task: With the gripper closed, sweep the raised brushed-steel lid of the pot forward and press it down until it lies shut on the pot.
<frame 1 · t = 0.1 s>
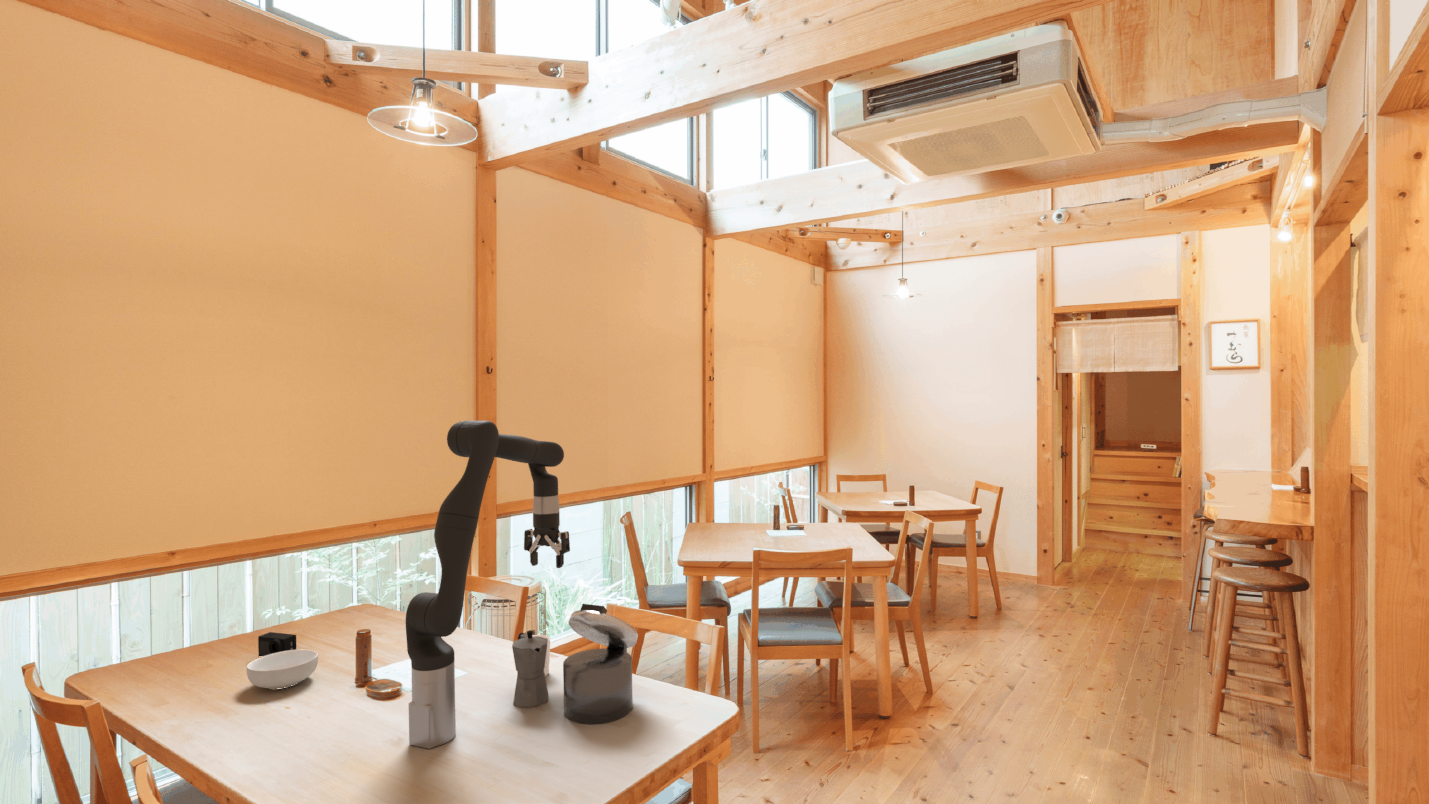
hand: (547, 566, 201), 29 cm above the table, tool pointing down, fingers open, 8 cm apart
cereal bowl: (283, 685, 191), on the table
white cup: (536, 675, 195), on the table
coffeepot: (529, 699, 179), on the table
pot: (598, 708, 173), on the table
lid: (605, 627, 176), point 19 cm above the table, hinge at 42.7°, touching pot
digital camera: (275, 659, 211), on the table
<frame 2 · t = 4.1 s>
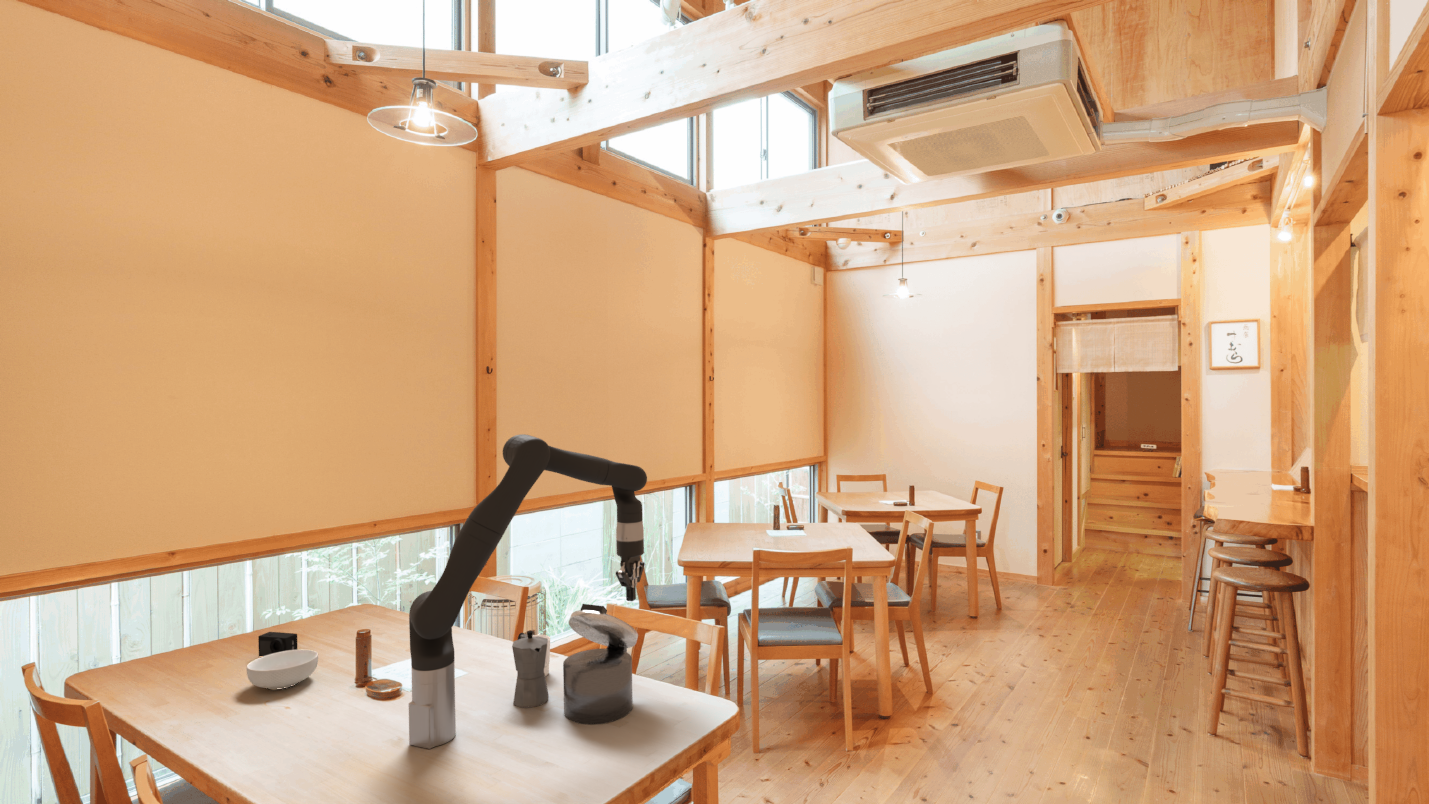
hand: (631, 600, 189), 22 cm above the table, tool pointing down, fingers closed
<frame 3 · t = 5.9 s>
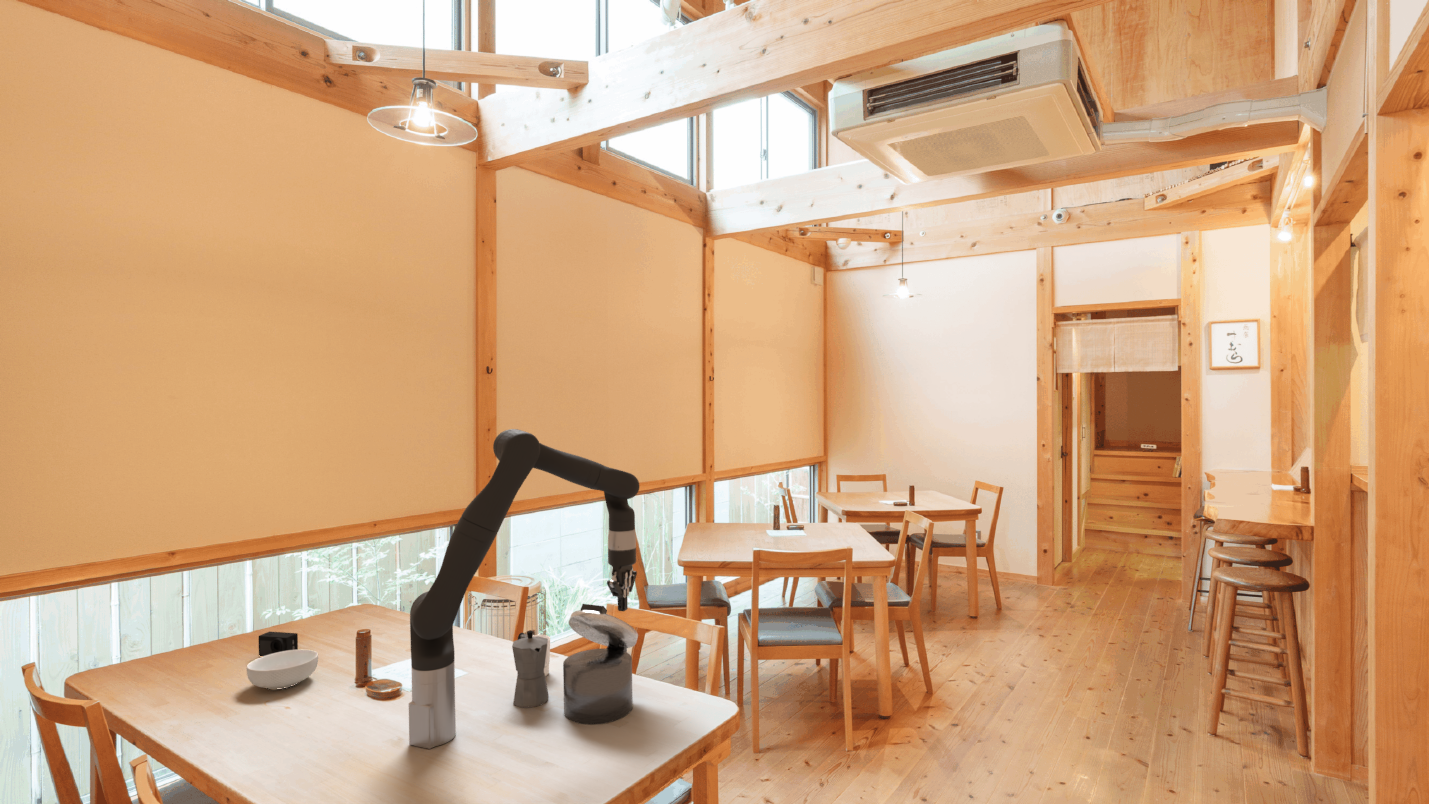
hand: (622, 610, 185), 21 cm above the table, tool pointing down, fingers closed
nothing on the table moved.
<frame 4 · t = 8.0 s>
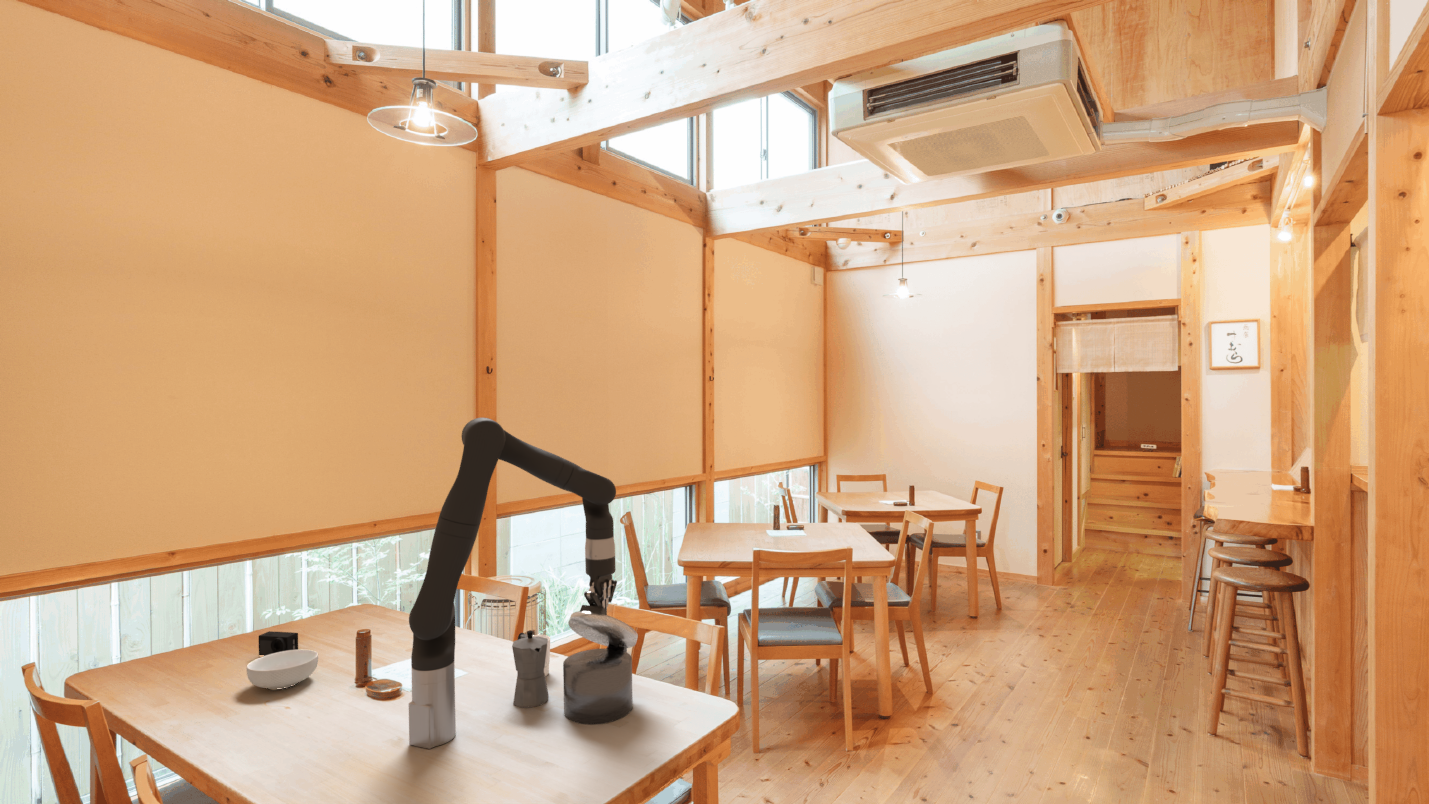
hand: (601, 622, 175), 21 cm above the table, tool pointing down, fingers closed
lid: (604, 627, 176), point 19 cm above the table, hinge at 41.8°, touching gripper, pot
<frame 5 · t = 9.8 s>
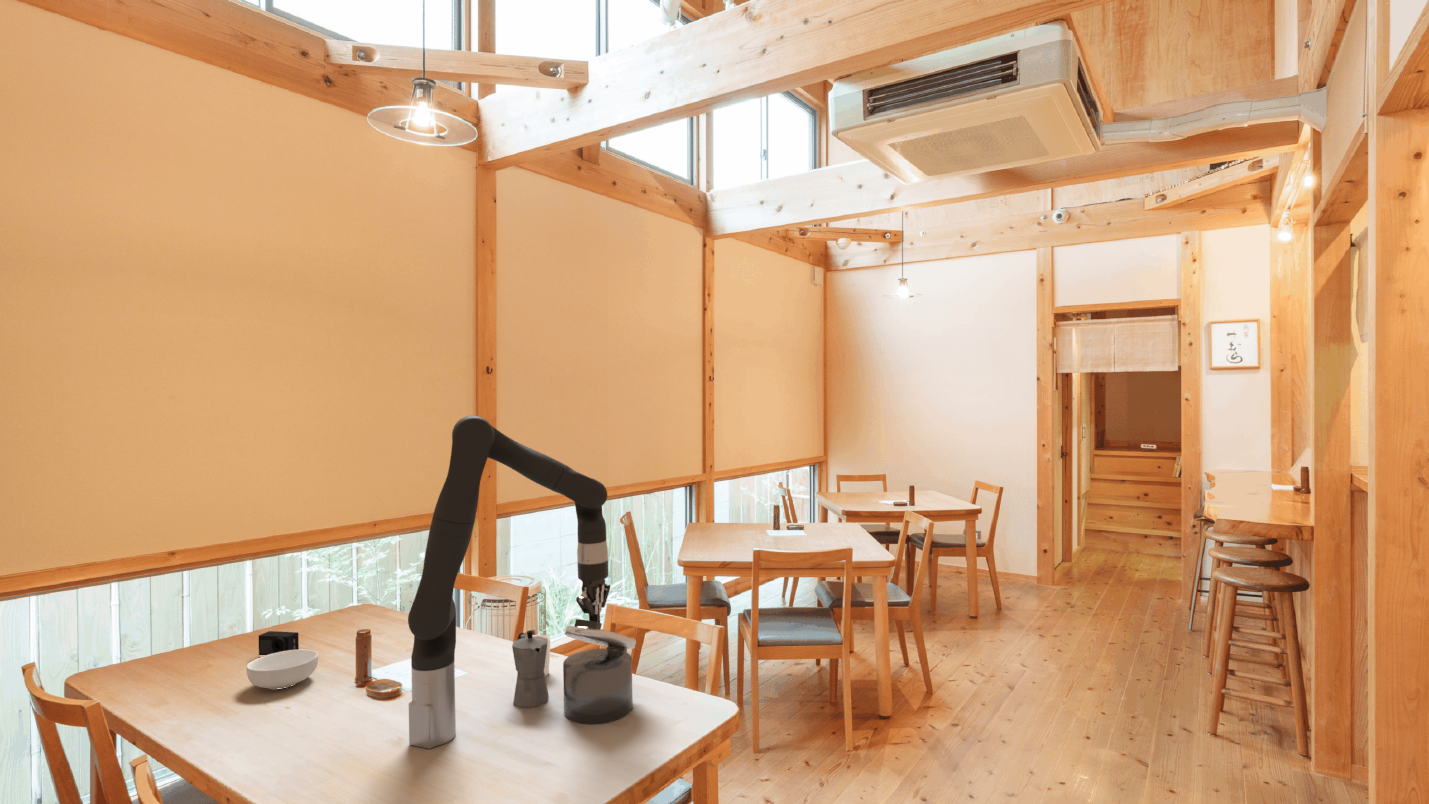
hand: (594, 627, 172), 21 cm above the table, tool pointing down, fingers closed
lid: (602, 634, 175), point 18 cm above the table, hinge at 29.2°, touching gripper
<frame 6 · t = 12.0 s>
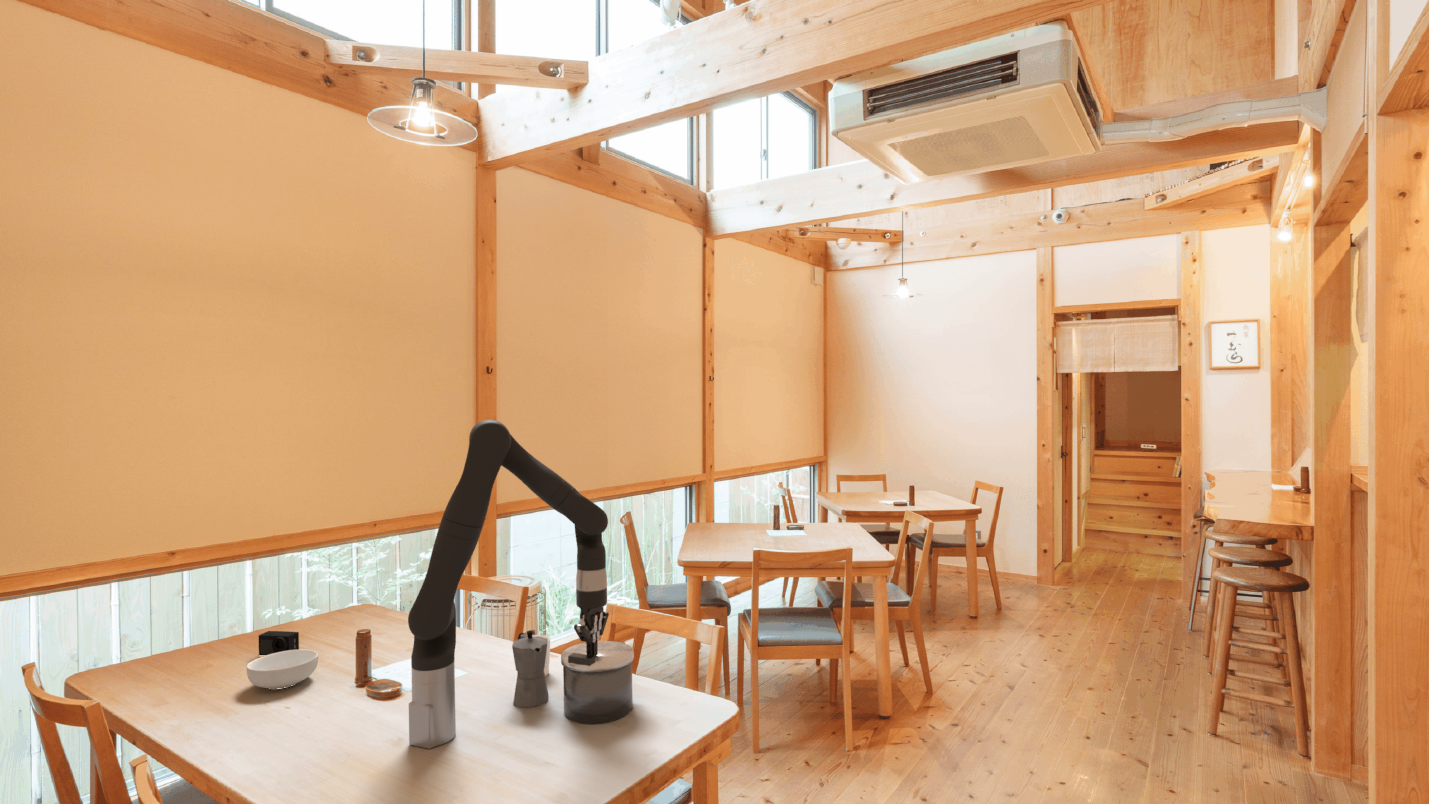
hand: (592, 656, 170), 14 cm above the table, tool pointing down, fingers closed
lid: (598, 652, 173), point 14 cm above the table, hinge at 1.5°, touching gripper
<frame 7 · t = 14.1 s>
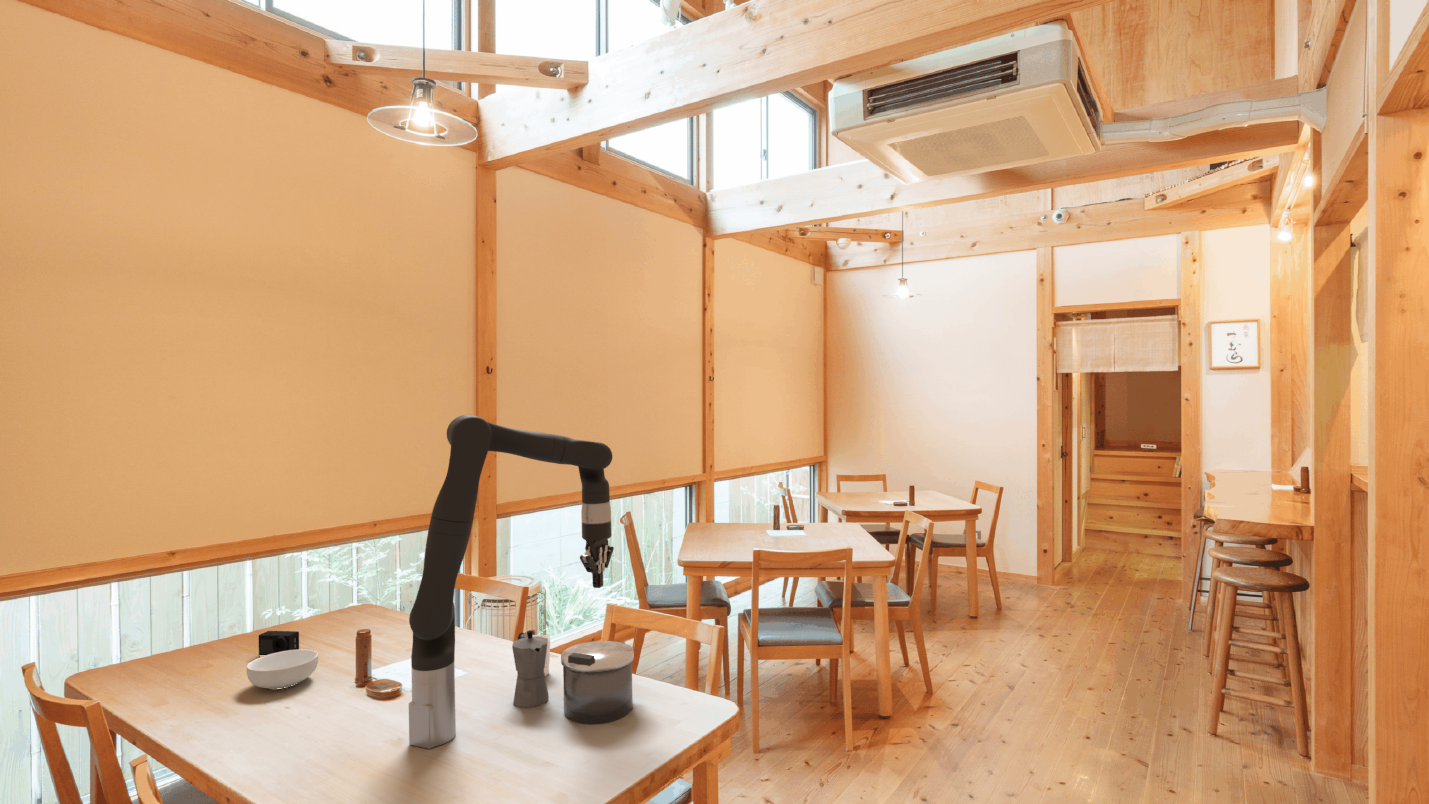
hand: (598, 587, 176), 30 cm above the table, tool pointing down, fingers closed
lid: (598, 652, 173), point 14 cm above the table, hinge at 1.5°
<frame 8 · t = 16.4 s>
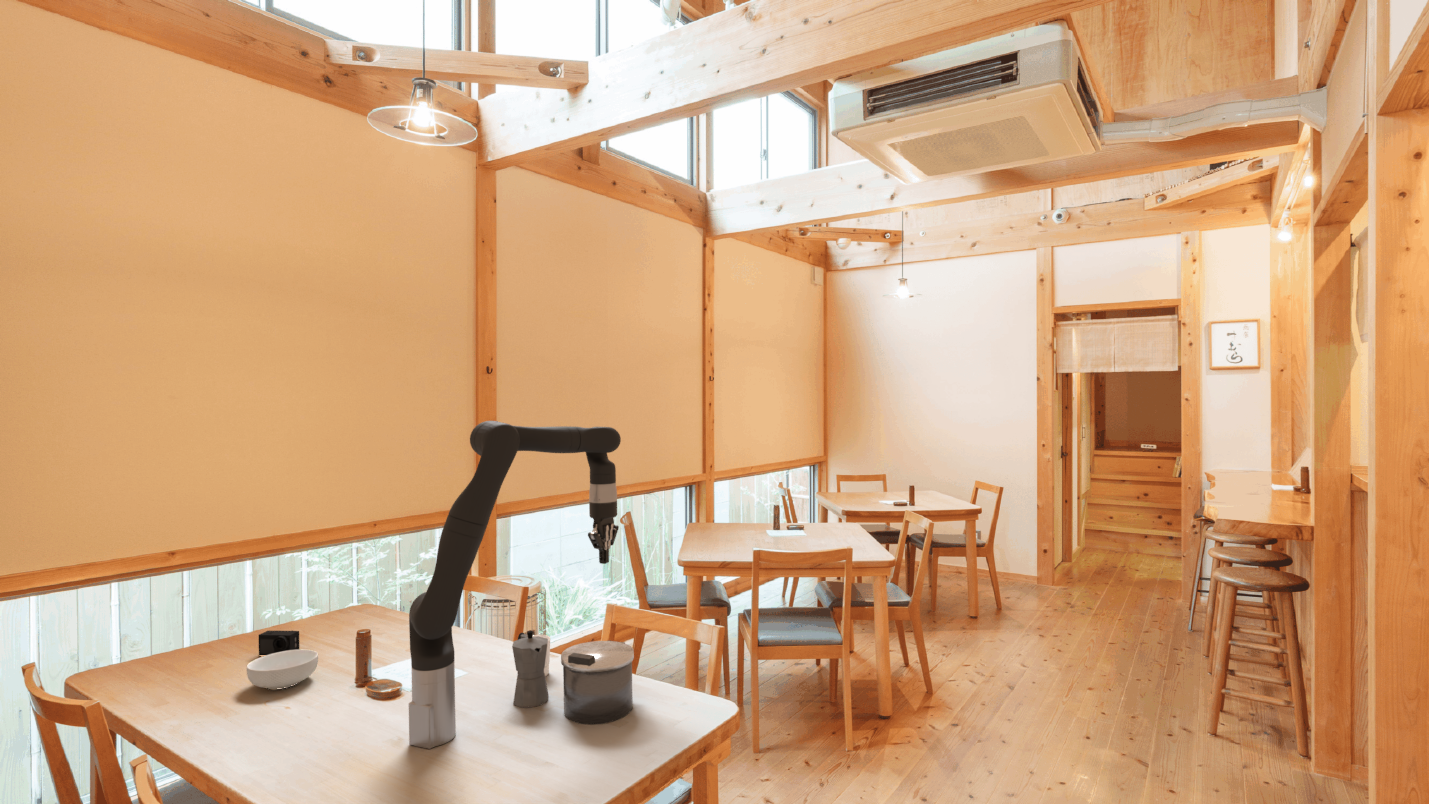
hand: (604, 562, 188), 33 cm above the table, tool pointing down, fingers closed
at the end: lid at +2° (first picture: +43°) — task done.
